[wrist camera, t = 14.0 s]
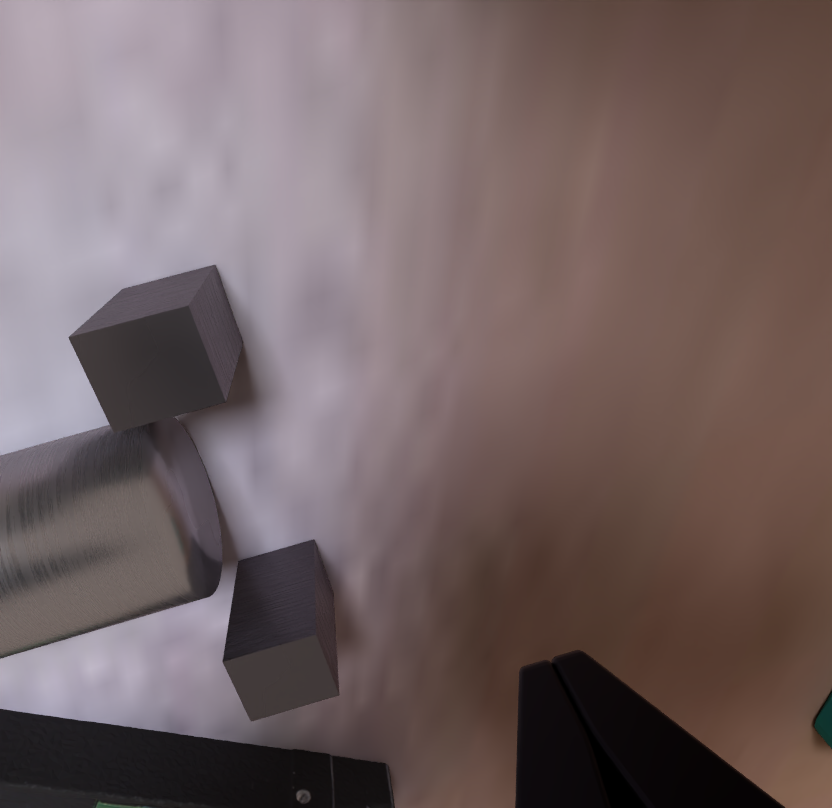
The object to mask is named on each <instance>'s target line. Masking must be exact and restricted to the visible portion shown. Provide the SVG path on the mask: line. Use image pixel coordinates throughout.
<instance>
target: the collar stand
mask: <svg viewBox="0 0 832 808" xmlns="http://www.w3.org/2000/svg"><path fill="white" fill-rule="evenodd" d="M69 339H70V342H71V344H72V346H73V348H74V350H75V352H76V354H77V356H78V358H79V361H80V363H81V365H82V367H83V369H84V371H85V373H86V375H87V377H88V379H89V382H90V384H91V386H92V388H93V390H94V392H95V394H96V396H97V398H98V400H99V403H100V405H101V407H102V409H103V411H104V413H105V415H106V417H107V419H108V422H109V424H110V426H111V428H112V430H113V432H114V433H116V432H119V431H123V430H126V429H130V428H134V427H137V426H141V425H145V424H148V423H152V422H156V421H159V420H163V419H167V418H170V417H174V416H178V415H181V414H185V413H189V412H192V411H196V410H199V409H203V408H207V407H210V406H214V405H218V404H221V403H225V402H226V401H227V397H228V394H229V390H230V387H231V383H232V380H233V376H234V373H235V369H236V366H237V362H238V359H239V355H240V352H241V348H242V345H243V341H242V338H241V336H240V333H239V330H238V327H237V324H236V322H235V319H234V316H233V313H232V311H231V308H230V305H229V302H228V299H227V297H226V294H225V291H224V288H223V286H222V283H221V280H220V277H219V274H218V272H217V269H216V266H215V265H212V266H208V267H204V268H201V269H197V270H193V271H189V272H185V273H182V274H178V275H174V276H170V277H166V278H163V279H159V280H155V281H151V282H147V283H144V284H140V285H136V286H132V287H128V288H125V289H122V290H121V291H120V292H119V293H118V294H116V295H115V296H114V297H113V298H112V299H111V300H110V301H109V302H107V303H106V304H105V305H104V306H103V307H102V308H101V309H100V310H98V311H97V312H96V313H95V314H94V315H93V316H92V317H91V318H90V319H88V320H87V321H86V322H85V323H84V324H83V325H82V326H81V327H79V328H78V329H77V330H76V331H75V332H74V333H73V334H72V335H70V336H69ZM223 664H224V666H225V668H226V670H227V672H228V674H229V676H230V678H231V680H232V683H233V685H234V687H235V689H236V691H237V693H238V695H239V697H240V699H241V701H242V704H243V706H244V708H245V710H246V712H247V714H248V716H249V718H250V720H251V721H254V720H258V719H261V718H265V717H268V716H271V715H275V714H278V713H281V712H285V711H288V710H291V709H295V708H298V707H301V706H305V705H308V704H311V703H315V702H318V701H322V700H325V699H328V698H332V697H335V696H338V695H339V681H338V664H337V647H336V630H335V613H334V597H333V591H332V588H331V585H330V583H329V580H328V577H327V574H326V572H325V569H324V566H323V563H322V560H321V558H320V555H319V552H318V549H317V547H316V544H315V541H314V540H311V541H307V542H304V543H300V544H297V545H293V546H290V547H286V548H283V549H279V550H276V551H272V552H269V553H265V554H262V555H258V556H255V557H251V558H248V559H244V560H241V561H238V566H237V573H236V579H235V586H234V592H233V599H232V605H231V612H230V618H229V625H228V631H227V638H226V644H225V651H224V657H223Z"/></svg>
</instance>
